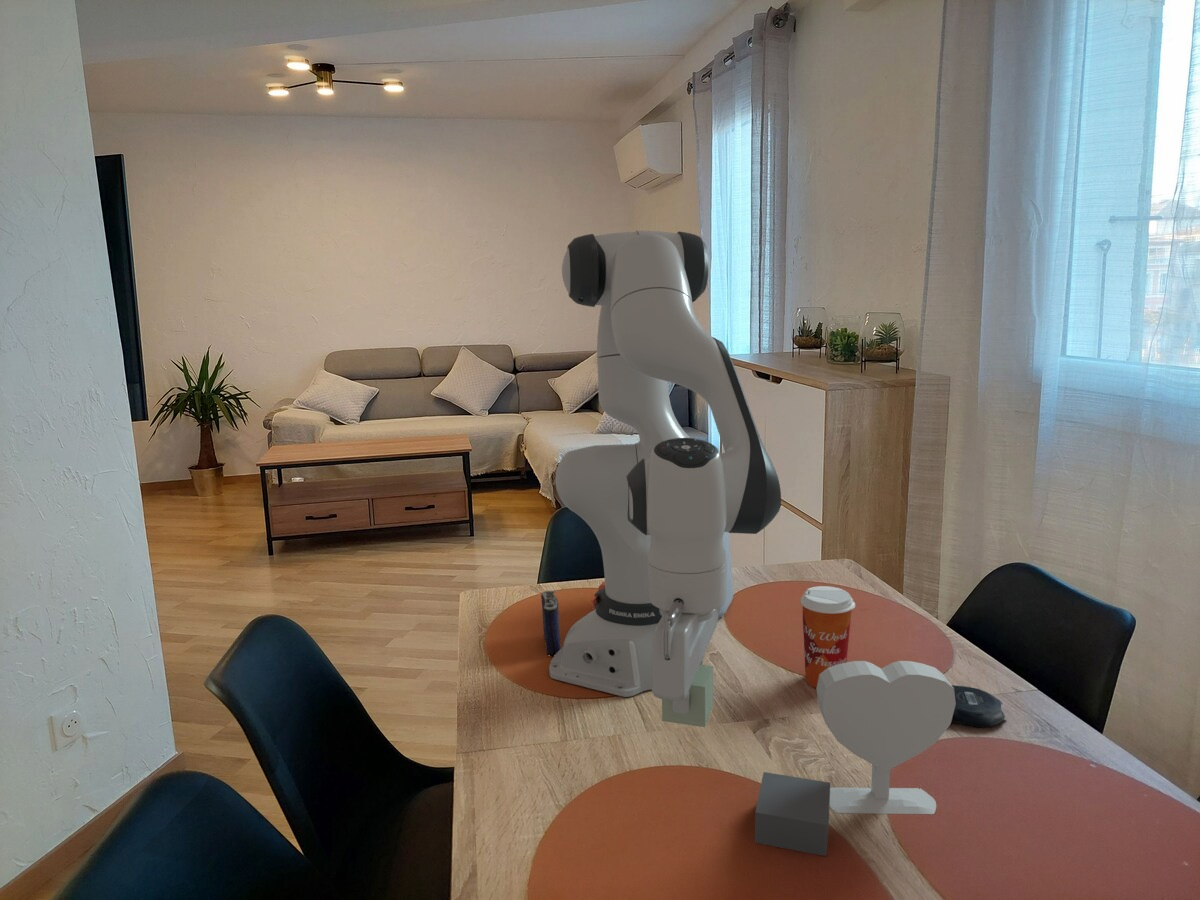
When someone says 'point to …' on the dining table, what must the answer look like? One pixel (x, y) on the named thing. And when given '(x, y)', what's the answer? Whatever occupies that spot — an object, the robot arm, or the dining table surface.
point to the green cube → (694, 701)
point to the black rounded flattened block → (976, 707)
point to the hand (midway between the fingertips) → (687, 696)
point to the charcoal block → (793, 813)
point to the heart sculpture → (885, 727)
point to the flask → (551, 622)
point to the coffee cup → (825, 629)
